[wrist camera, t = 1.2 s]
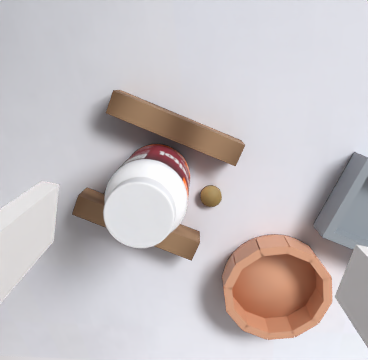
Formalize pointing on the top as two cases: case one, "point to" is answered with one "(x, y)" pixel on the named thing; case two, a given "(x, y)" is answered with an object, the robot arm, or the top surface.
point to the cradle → (179, 132)
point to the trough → (347, 206)
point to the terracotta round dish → (276, 287)
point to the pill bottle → (147, 196)
